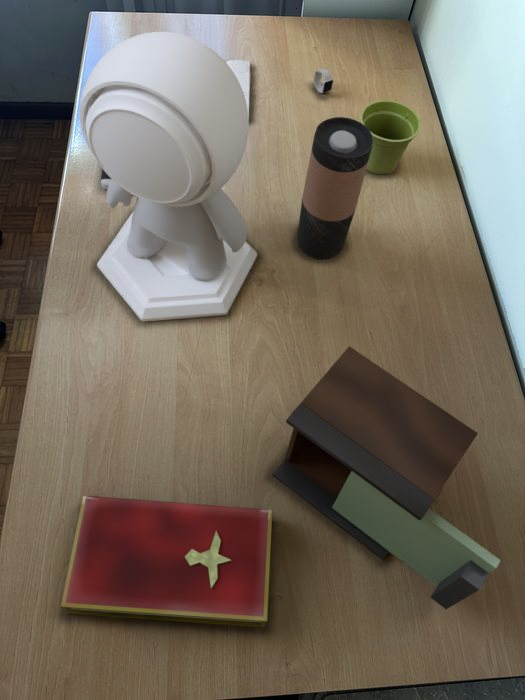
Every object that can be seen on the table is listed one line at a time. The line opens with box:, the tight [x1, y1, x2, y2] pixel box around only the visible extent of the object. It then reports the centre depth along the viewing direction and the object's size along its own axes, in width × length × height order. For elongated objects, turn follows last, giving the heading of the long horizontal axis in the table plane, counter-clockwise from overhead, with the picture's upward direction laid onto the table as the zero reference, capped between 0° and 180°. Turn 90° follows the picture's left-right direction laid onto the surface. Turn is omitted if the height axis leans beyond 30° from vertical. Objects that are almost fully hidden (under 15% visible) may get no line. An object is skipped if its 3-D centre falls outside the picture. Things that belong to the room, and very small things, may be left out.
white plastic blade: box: [225, 59, 251, 120], centre depth 116 cm, size 5×15×1 cm, turn 179°
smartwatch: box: [313, 68, 334, 94], centre depth 117 cm, size 4×2×4 cm, turn 32°
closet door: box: [332, 471, 502, 610], centre depth 69 cm, size 3×16×14 cm, turn 52°
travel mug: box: [296, 116, 373, 260], centre depth 92 cm, size 8×8×20 cm
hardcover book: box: [60, 495, 273, 628], centre depth 72 cm, size 12×21×4 cm, turn 87°
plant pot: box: [359, 99, 422, 175], centre depth 106 cm, size 9×9×9 cm
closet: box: [272, 345, 479, 561], centre depth 74 cm, size 11×16×16 cm
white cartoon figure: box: [79, 31, 258, 322], centre depth 81 cm, size 20×23×35 cm
